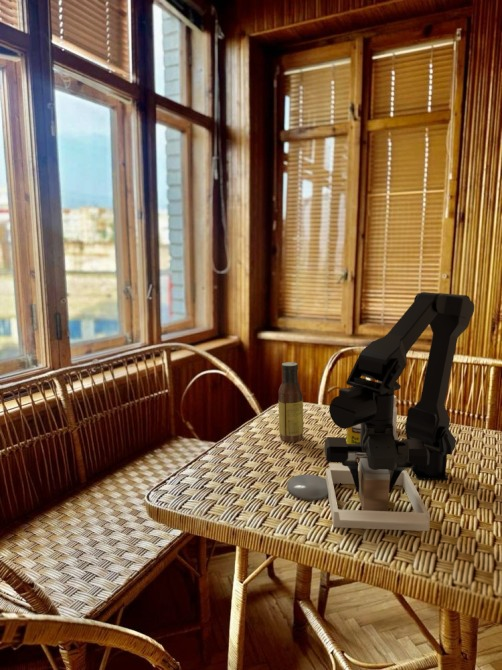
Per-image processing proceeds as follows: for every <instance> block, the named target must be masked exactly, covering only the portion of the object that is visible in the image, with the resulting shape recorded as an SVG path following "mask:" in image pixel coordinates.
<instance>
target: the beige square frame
mask: <svg viewBox="0 0 502 670" xmlns="http://www.w3.org/2000/svg"><path fill="white" fill-rule="evenodd" d="M328 466H329V467H328V468H325V479H326V482H327V487H328V496H327V497H328V501H329V502H328V503H329V508H330V515H331V521H332V526H333V528H341V529H342V528H343V529H344V528H347V529H369V530H370V529H371V530H392V531H395V530H396V531H418V532H419V531H420V532H423V531H424V532H429V531H430V523H431V522H430V520H431V514H430V513H429V510H428V509H427V506H426V505H425V504H424V501H423V499H422V498H421V496H420V493H419V492H418V490H417V488H416V486H415V484H414V482H413V481H412V479H411V477H410V475H409V473H408V471H407V470H403V471H402V472H401V474H400V475H399V477H398V479H397V481H396V483H395V485H394V486H396V485H399V486H400V487H401V486H402V487H403V490H404V491H405V493H406V496H407V498H408V500H409V502H410V504H411V506H412V509H413V510H414V512H411V511H410V512H409V511H391V510H390V511H389V510H388V511H364V510H360V509H359V510H357V509H339V508H338V503H337V497H336V491H335V487H334V484H340V483H341V484H342V485H346V484H347V485H355V484H354V480H353V477H352V474H351V472H350V470H349V468H348V466H343V465H342V463H337V462H328ZM359 466H360V463H358V475H359ZM341 484H340V485H341Z"/></svg>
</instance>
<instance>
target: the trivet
mask: <svg viewBox="0 0 502 670" xmlns="http://www.w3.org/2000/svg"><path fill="white" fill-rule="evenodd" d="M286 489H287V492H288V493H289V494H290V495H291V496H293V497H295V498H297V499H300V500H303V501H304V500H305V501H317V500H319V501H320V500H323V499H325V498H327V497H328V487H327V482H326V478H324V477H321V476H319V475H315V474H298V475H295V476H293V477H291V478H289V479H288V481H287V483H286Z"/></svg>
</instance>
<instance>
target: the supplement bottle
mask: <svg viewBox="0 0 502 670" xmlns="http://www.w3.org/2000/svg"><path fill="white" fill-rule="evenodd" d="M360 434H361V424H358V425H356V426H353V427H350V428H347V429H346V438H345V439H346V442H347V444H360ZM356 458H358V459H360V458H367V455H356Z"/></svg>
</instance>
